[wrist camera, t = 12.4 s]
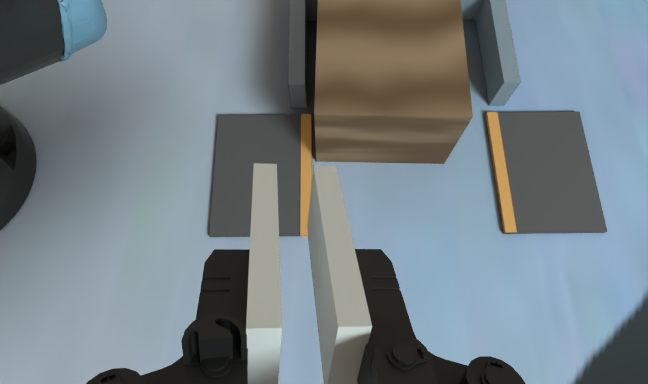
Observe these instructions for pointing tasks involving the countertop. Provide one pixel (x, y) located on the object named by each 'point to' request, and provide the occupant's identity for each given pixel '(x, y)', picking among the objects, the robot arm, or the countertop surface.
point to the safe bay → (476, 3)
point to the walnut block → (390, 80)
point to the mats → (507, 156)
